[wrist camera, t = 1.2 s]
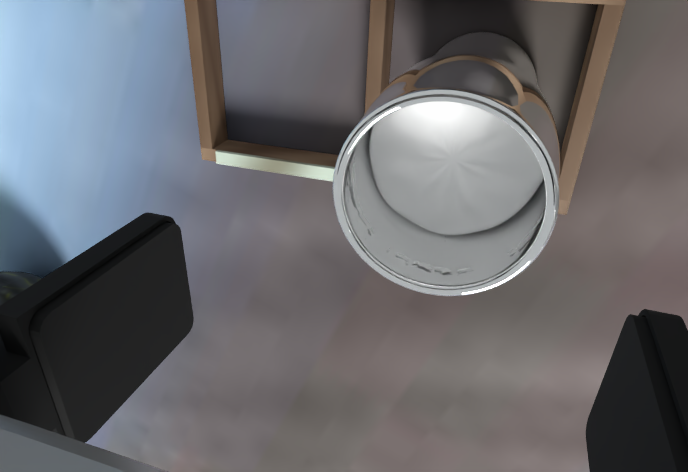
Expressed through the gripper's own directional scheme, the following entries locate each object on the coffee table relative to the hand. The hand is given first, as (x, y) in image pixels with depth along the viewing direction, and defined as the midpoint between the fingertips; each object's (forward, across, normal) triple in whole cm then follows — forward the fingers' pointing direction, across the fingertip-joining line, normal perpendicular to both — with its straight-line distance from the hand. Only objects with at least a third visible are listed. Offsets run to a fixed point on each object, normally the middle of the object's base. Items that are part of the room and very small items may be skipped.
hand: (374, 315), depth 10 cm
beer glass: (+20, 0, 0) cm, 21 cm away
